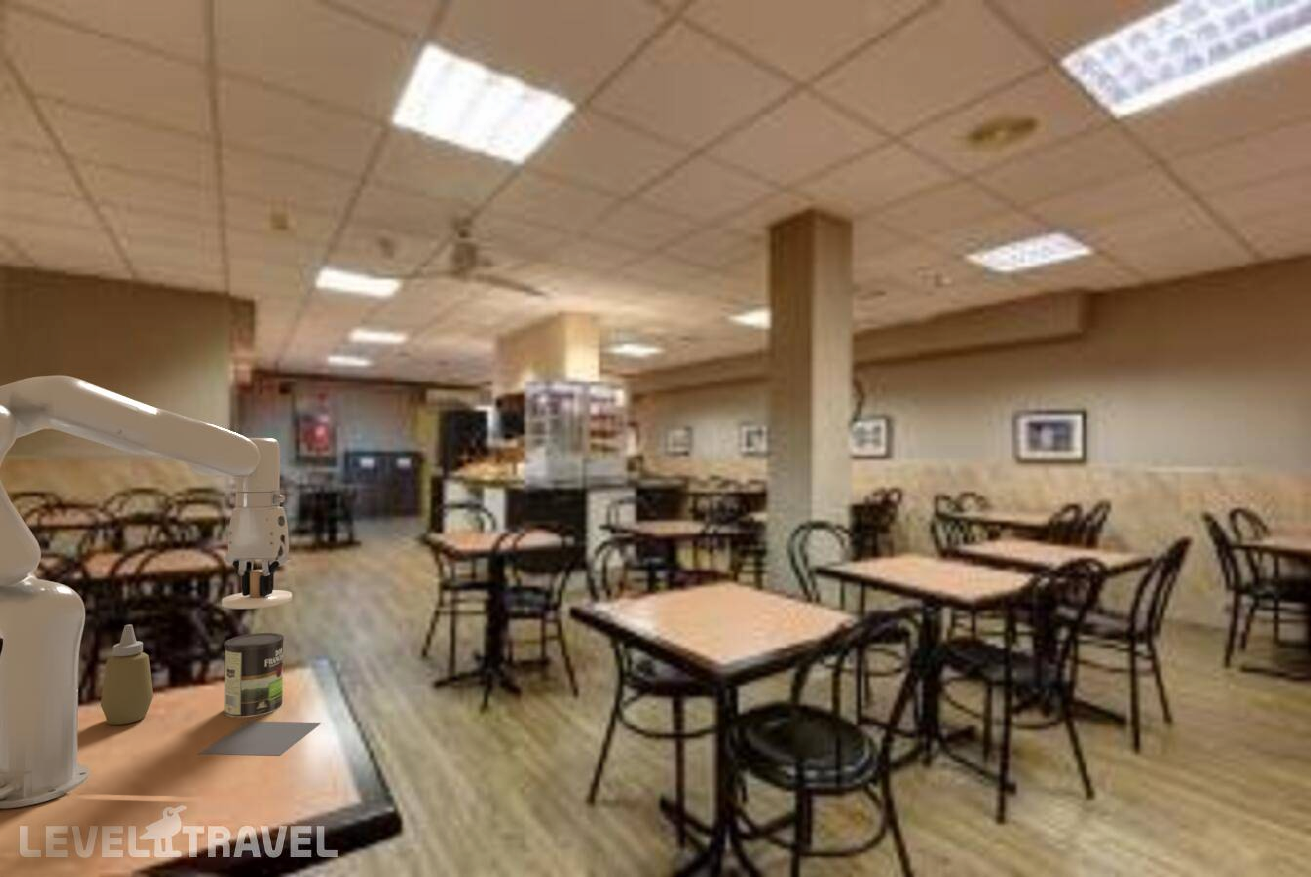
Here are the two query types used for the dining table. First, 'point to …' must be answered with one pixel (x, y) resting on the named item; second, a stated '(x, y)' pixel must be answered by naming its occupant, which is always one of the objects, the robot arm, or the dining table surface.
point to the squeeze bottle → (127, 681)
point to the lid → (256, 596)
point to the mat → (261, 738)
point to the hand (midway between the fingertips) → (257, 593)
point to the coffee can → (253, 674)
